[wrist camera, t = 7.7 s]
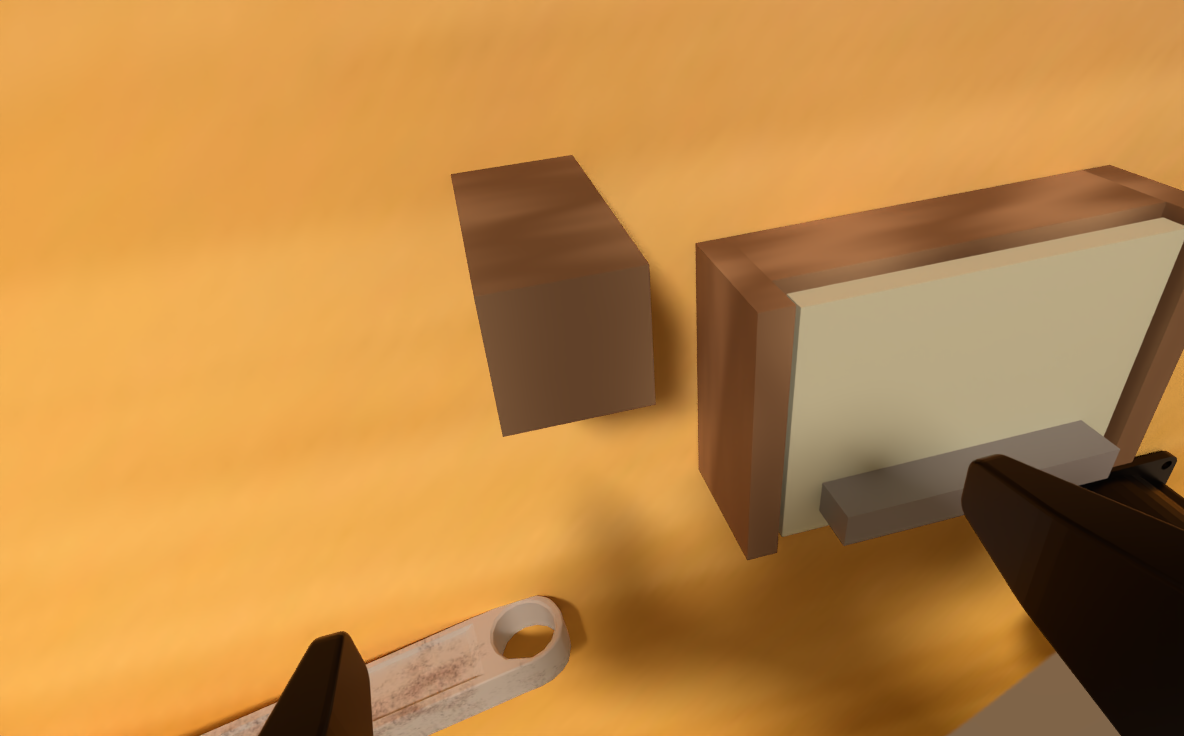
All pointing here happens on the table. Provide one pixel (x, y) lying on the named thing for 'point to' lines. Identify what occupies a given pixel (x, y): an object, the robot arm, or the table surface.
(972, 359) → the cream cabinet door
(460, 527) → the table surface
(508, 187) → the brown rectangular block
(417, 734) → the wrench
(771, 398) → the wooden tray
